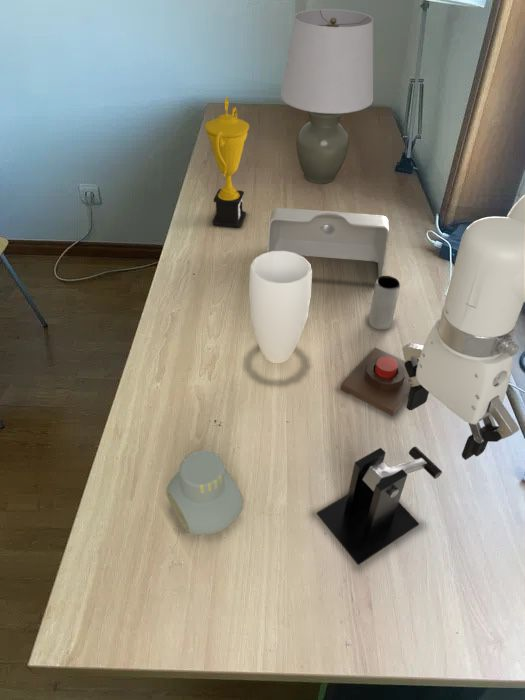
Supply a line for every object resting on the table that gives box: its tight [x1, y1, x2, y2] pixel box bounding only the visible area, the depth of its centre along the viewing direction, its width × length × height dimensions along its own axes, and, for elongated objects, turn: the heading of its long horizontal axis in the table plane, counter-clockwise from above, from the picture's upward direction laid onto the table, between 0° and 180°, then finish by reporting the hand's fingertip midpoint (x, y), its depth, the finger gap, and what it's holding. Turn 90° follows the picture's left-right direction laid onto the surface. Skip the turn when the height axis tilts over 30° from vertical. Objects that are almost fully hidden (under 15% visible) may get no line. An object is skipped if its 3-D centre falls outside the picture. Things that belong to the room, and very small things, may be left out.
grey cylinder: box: [368, 275, 401, 330], centre depth 108 cm, size 4×4×10 cm
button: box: [375, 357, 398, 379], centre depth 96 cm, size 4×4×2 cm
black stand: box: [316, 447, 420, 566], centre depth 75 cm, size 11×9×13 cm
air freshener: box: [165, 449, 244, 536], centre depth 77 cm, size 11×8×10 cm
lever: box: [363, 446, 443, 491], centre depth 75 cm, size 12×5×2 cm, turn 123°
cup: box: [248, 251, 313, 364], centre depth 95 cm, size 10×10×22 cm
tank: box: [266, 207, 390, 278], centre depth 123 cm, size 25×16×12 cm, turn 83°
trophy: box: [204, 96, 250, 229], centre depth 130 cm, size 19×10×30 cm, turn 170°
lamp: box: [279, 8, 374, 185], centre depth 147 cm, size 24×24×40 cm
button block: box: [340, 347, 411, 417], centre depth 98 cm, size 12×10×4 cm
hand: (442, 428), depth 73 cm, fingers open, 9 cm apart
